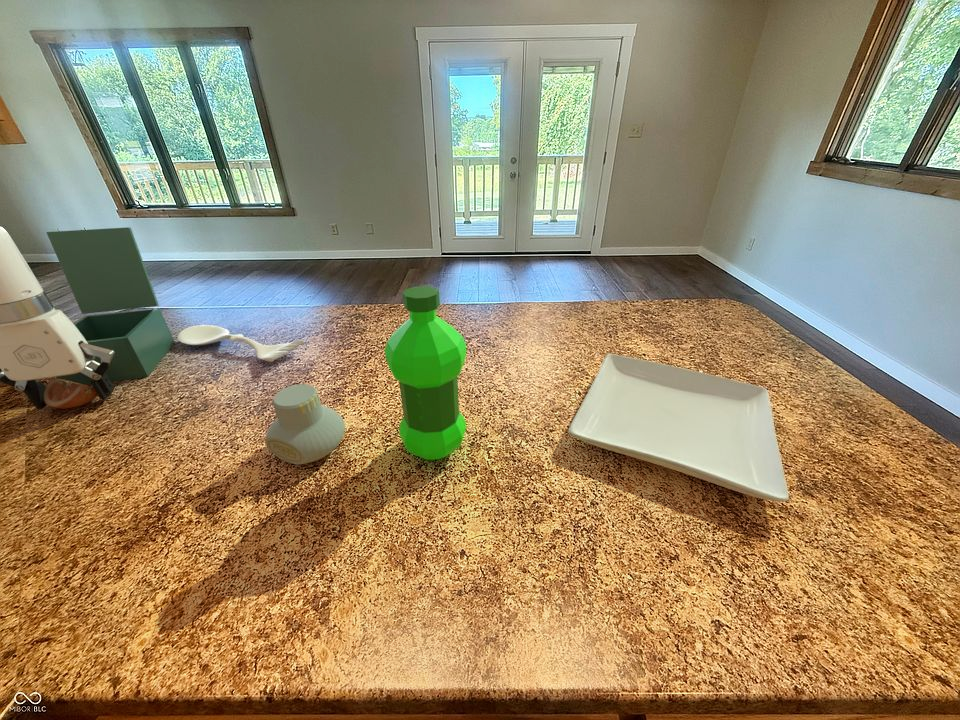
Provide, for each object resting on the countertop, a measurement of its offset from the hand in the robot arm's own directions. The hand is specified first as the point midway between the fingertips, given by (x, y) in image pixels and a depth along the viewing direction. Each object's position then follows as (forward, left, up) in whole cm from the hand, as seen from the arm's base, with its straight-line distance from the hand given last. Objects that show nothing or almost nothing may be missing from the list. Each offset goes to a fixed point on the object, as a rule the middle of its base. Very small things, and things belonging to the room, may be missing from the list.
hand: (77, 399), depth 67 cm
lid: (+1, +24, +16) cm, 29 cm away
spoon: (+23, +15, -1) cm, 27 cm away
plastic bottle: (+58, -31, -1) cm, 66 cm away
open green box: (+1, +15, -1) cm, 15 cm away
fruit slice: (0, 0, -1) cm, 1 cm away
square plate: (+96, -38, -1) cm, 103 cm away
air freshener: (+40, -25, -1) cm, 47 cm away
